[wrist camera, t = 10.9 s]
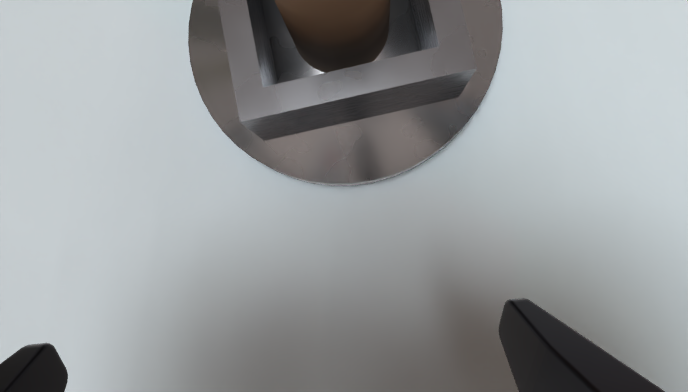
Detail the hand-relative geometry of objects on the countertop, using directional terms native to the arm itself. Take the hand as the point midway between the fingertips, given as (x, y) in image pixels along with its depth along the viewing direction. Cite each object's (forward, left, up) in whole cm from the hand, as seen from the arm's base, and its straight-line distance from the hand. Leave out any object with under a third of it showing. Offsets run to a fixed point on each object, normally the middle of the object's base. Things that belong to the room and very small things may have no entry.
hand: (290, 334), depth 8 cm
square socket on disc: (+5, -9, -9) cm, 14 cm away
